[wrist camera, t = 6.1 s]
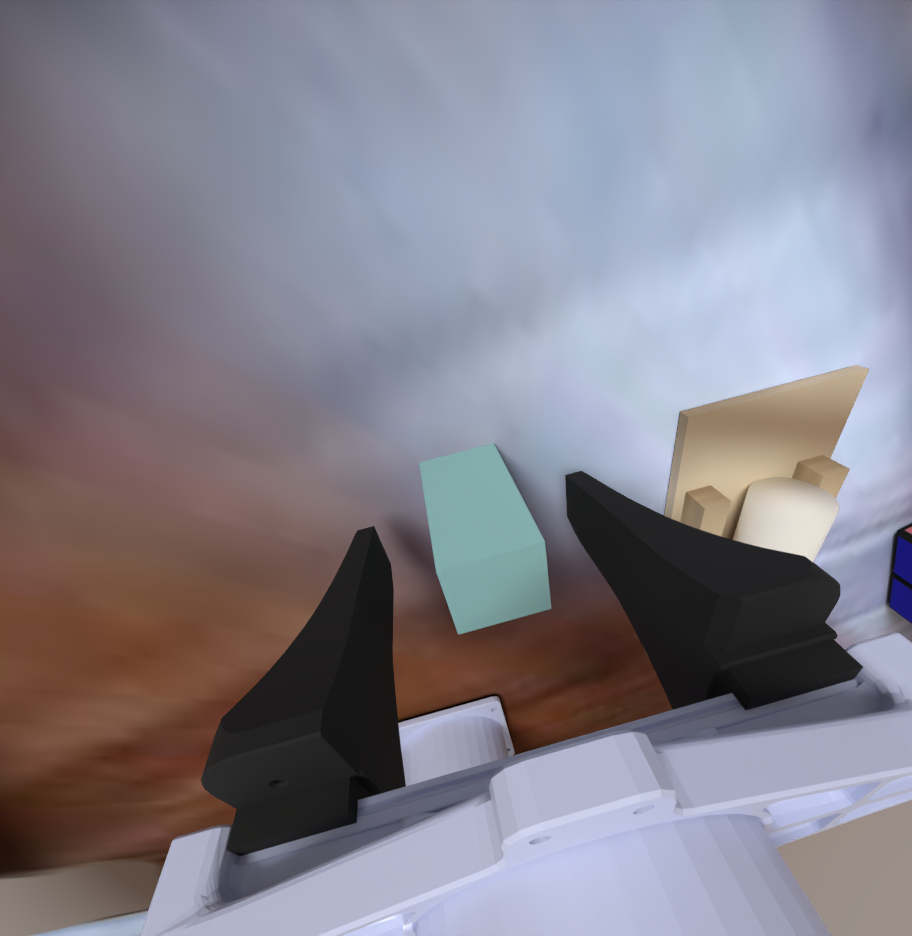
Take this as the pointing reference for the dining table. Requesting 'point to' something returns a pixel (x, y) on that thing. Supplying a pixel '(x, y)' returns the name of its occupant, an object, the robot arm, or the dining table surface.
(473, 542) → the tall teal pillar
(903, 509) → the dining table surface
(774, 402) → the channel board
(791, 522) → the cream cylinder rod
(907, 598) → the puzzle cube
